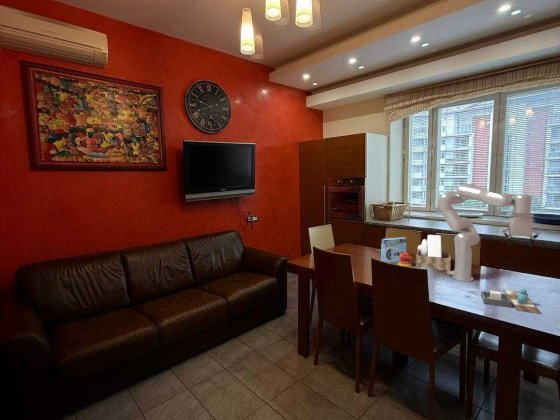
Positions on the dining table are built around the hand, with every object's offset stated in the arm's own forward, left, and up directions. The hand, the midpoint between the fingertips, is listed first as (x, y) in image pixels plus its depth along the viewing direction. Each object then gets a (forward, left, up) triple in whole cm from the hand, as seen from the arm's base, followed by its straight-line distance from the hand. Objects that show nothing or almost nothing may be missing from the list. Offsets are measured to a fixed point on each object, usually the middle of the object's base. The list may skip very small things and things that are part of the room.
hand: (519, 245), depth 173 cm
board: (-1, -13, -28) cm, 31 cm away
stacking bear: (-61, +3, -28) cm, 67 cm away
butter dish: (-39, +47, -16) cm, 63 cm away
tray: (-13, -20, -28) cm, 37 cm away
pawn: (-1, -17, -28) cm, 33 cm away
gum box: (-71, +26, -29) cm, 81 cm away
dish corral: (-44, +45, -28) cm, 69 cm away
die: (-13, -19, -28) cm, 36 cm away
